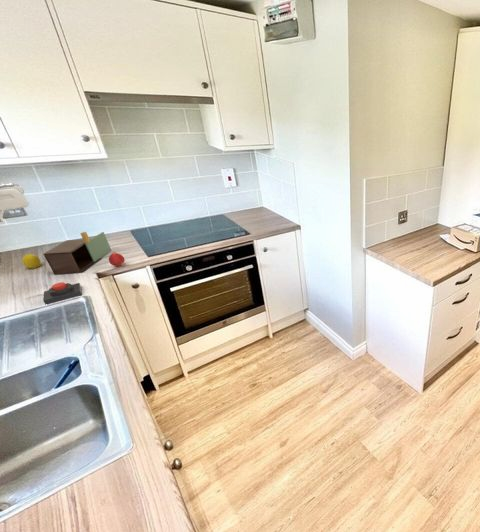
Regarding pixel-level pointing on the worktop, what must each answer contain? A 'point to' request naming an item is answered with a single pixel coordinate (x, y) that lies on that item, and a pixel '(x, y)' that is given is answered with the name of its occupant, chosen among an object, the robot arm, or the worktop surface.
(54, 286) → the button
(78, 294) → the button box
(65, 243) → the cabinet
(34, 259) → the lemon
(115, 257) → the onion
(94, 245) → the sliding door
